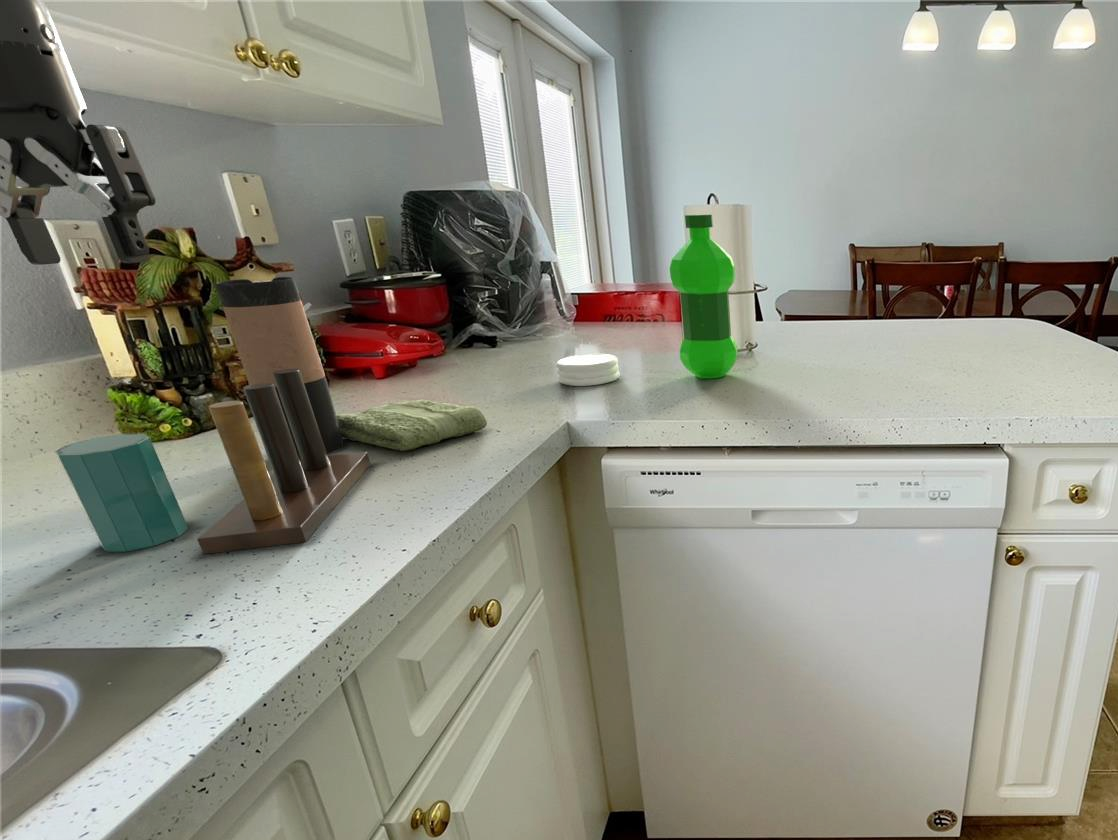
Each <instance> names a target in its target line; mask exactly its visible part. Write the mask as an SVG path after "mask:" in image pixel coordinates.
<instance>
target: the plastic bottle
mask: <svg viewBox="0 0 1118 840" xmlns="http://www.w3.org/2000/svg"><path fill="white" fill-rule="evenodd" d="M684 221H685V228H686V229H689V239H688V241H687V242H685V244H684V245H683V246H682V247H681V248H679V250H678V251H677V253H675V255H674V256H673V257H672V259H671V261H670V264H669V265H670V266H669V276H670V280H671V284H672V286H673V287H674V289H676V291H678V292H679V296H680V306H681V307H680V308H681V318H682V329H683V340H682V342H681V345H680V349H679V359H680V361H681V363H682V366H684V367H685V368H686V370H688V371H689V373H691V374H693V375H695V378H699V379H717V378H718V379H719V378H722V377H726V375H727V373H728V372H729V371H730V370H731V369H732V368H733V366H734V365H735V363H736V361H737V357H738V354H739V353H738V352H739V351H738V345H737V342H736V340H735V338H734V337H733V335H732V330H731V328H732V327H731V326H732V325H731V311H730V296H729V295H730V294H729V289H730V288H731V287H732V286H733V284H734V283H735V276H736V268H735V267H736V265H735V262H734V260H733V258H732V256H731V255H730V254H729V253H728V252H727V251H726V250H724V248H723V247H722V246H721V245H719V244H718V242H716V241H715V240H714V239H712V238H711V228H713V227H714V222H713V221H714V220H713V214H685V215H684Z"/></svg>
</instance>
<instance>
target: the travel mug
mask: <svg viewBox="0 0 1118 840" xmlns="http://www.w3.org/2000/svg"><path fill="white" fill-rule="evenodd" d="M214 286H215V289H216V291H217V294H218V297H219V298H218V299H219V300H220V303H221V306H222V309H223V312H224V314H225V318H226V321H227V324H228V326H229V329H230V333H231V335H232V336H231V337H232V339H233V341H234V343H235V347H236V350H237V353H238V356H239V359H240V362H241V365H242V367H243V371H244V373H245V376H246V379H247V382H248V386H249V385H254V384H261V383H272V384H274V387H275V390H276V393H277V396H278V399H279V402H280V404H281V407H282V410H283V413H284V416H285V419H286V422H287V425H288V428H289V431H290V434H291V437H292V440H293V442H294V445H295V448H296V451H297V454H298V457H299V458H301V457H300V454H299V451H298V448H297V445H296V442H295V439H294V436H293V433H292V430H291V427H290V425H289V422H288V419H287V416H286V413H285V410H284V407H283V404H282V401H281V398H280V395H279V392H278V389H277V386H276V383H275V381H274V378H273V375H272V372H274V371H278V370H283V369H299V370H300V373H301V376H302V379H303V382H304V385H305V388H306V391H307V394H308V398H309V401H310V404H311V407H312V410H313V413H314V416H315V419H316V422H317V425H318V428H319V432H320V435H321V438H322V441H323V444H324V447H325V450H326V453H330V452H333V451H335V450H338V449H340V448H341V447H343V445H344V441H343V438H342V436H341V432H340V428H339V425H338V421H337V417H336V416H337V414H336V410H335V406H334V402H333V400H332V396H331V391H330V388H329V384H328V379H327V377H326V374H325V370H324V367H323V365H322V361H321V358H320V355H319V352H318V348H317V345H316V342H315V339H314V336H313V333H312V330H311V327H310V324H309V320H308V318H307V315H306V314H307V313H306V311H305V308H304V305H303V301H302V300H301V299H302V298H301V294H300V292H299V288H298V286H297V282H296V280H295V278H294V277H290V276H278V277H274V278H272V280H270V281H256V282H254V281H252V280H250V279H249V278H248V279H247V278H241V279H239V278H238V279H230V280H221V281H216V282H215V285H214Z"/></svg>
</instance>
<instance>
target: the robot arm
mask: <svg viewBox="0 0 1118 840" xmlns="http://www.w3.org/2000/svg"><path fill="white" fill-rule="evenodd" d="M87 111H88V108H87V104H86V102H85V99H84V97H83V94H82V92H81V90H80V87H79V85H78V82H77V79H76V76H75V74H74V71H73V70H72V66H71V63H70V61H69V58H68V56H67V54H66V51H65V49H64V46H63V44H62V41H61V38H60V36H59V33H58V30H57V28H56V25H55V22H54V20H53V18H52V15H51V13H50V11H49V9H48V7H47V5H46V3H45V1H44V0H0V217H2V218H4V219H5V220H6V222H7V224H8V225H9V228H10V230H11V232H12V235H13V237H14V239H15V241H16V244H17V245H18V247H19V250H20V252H21V254H22V255H23V256H24V257H25V259H27V261H28V262H29V263H30V264H31V265H36V266H37V265H40V266H43V265H55V264H59V263H60V262H61V255H60V254H59V251H58V249H57V247H56V244H55V242H54V240H53V238H52V236H51V234H50V233H51V232H50V231H49V228H48V226H47V224H46V221H45V220H44V218H43V217H39V216H40V212H41V207H42V202H43V198H45V196H48V195H49V194H50V192H51V191H50V190H51V188H63V187H69V188H70V189H71V190H73V191H74V192H76V193H78V194H81V195H83V196H84V197H86V198H87V199H88V200H89V201H90V202H91V203H92V204H93V205H94V206H96V207H97V208H98V209H99V210H100V211H101V212H102V213H103V214H105V215H107V216H101V219H102V222H103V224H104V226H105V228H106V231H107V234H108V236H109V238H110V241H111V244H112V246H113V248H114V251H115V253H116V256H117V259H118V260H119V261H120V262H121V263H123V264H135V263H136V264H138V263H147V262H148V261H149V260H150V256H149V255H150V247H149V245H148V242H147V240H146V237H145V235H144V233H143V232H144V231H143V230H142V227H141V224H140V221H139V219H138V214H139V213H140V210H143V209H144V208H146V207H152V206H155V205H156V197H155V194H154V192H153V190H152V188H151V186H150V183H149V181H148V179H147V176H146V174H145V171H144V169H143V166H142V164H141V161H140V159H139V157H138V154H137V153H136V150H135V147H134V146H133V143H132V141H131V138H130V136H129V133H128V132H127V130H126V129H125V128H123V127H121V126H113V125H106V124H91V123H90V124H88V125H86V124H85V122H84V121H83V118H82V116H84V115H85V114H86V113H87ZM95 156H96V157H97V158H96V157H95ZM126 177H127V178H128V180H127V178H126ZM128 181H129V183H130V185H129V183H128ZM130 186H131V187H132V189H131V187H130Z"/></svg>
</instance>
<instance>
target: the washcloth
mask: <svg viewBox="0 0 1118 840" xmlns="http://www.w3.org/2000/svg"><path fill="white" fill-rule="evenodd" d="M336 417H337V421H338V425H339V428H340V432H341V436H342V439H348V440H350V441H353V442H355V441H357V442H361V443H364V444H369V445H374V446H376V447H382V448H387V449H391V450H395V451H401V452H403V451H405V452H406V451H410V450H416V449H418V448H420V447H423V446H426V445H427V446H429V445H432V444H437V443H439V442H440V441H442V440H447V439H450V438H457V437H462V436H465V435H468V434H472V433H475V432H480V431H482V430H483V429H484V428H486V427H487V424H488V421H487V419H486V417H485V415H484V413H483V412H482V411H481V409H480V408H478V407H476V406H474V405H473V406H472V405H466V406H465V405H464V406H461V405H457V404H455V403H445V402H439V401H432V400H427V399H415V400H409V401H405V402H402V401H401V402H396V403H393V402H392V403H389V404H386V405H380V406H376V407H375V406H374V407H369V408H366V409H365V410H362V411H360V412H358V413H353V414H351V413H344V414H342V413H341V414H338V415H336Z"/></svg>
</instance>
